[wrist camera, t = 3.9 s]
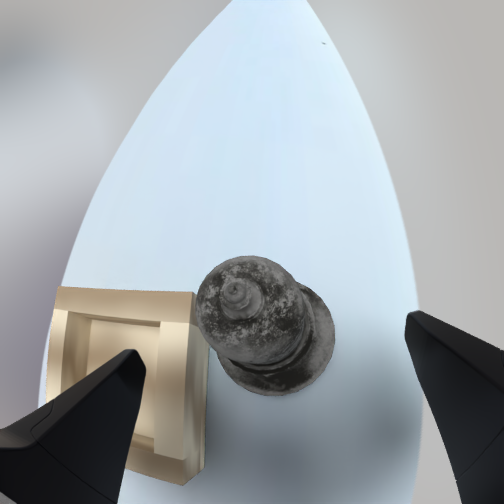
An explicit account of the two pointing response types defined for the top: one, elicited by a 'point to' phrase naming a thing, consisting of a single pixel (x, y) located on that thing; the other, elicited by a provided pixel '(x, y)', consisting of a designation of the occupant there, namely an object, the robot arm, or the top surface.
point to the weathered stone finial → (264, 325)
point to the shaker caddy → (155, 359)
